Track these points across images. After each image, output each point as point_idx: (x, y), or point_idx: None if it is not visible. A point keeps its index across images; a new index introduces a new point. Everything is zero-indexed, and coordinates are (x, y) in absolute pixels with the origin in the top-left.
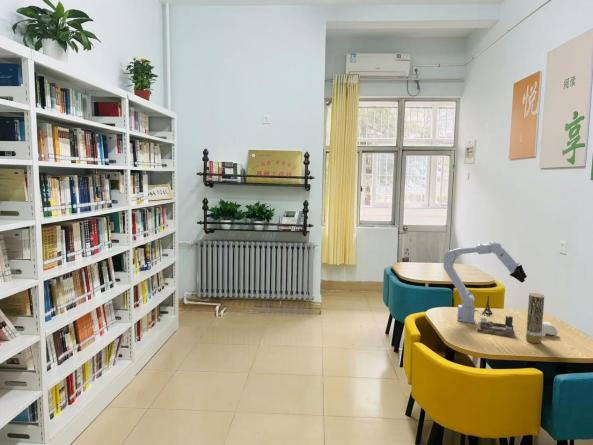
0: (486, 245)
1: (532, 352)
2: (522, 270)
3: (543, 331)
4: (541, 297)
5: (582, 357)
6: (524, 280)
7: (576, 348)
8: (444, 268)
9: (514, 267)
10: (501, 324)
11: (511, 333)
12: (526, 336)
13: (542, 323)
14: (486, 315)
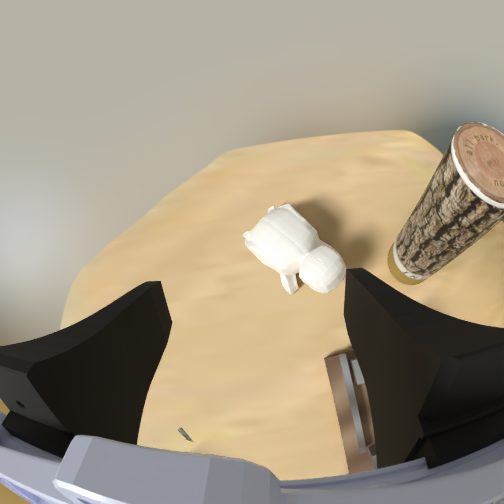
0: None
1: (497, 240)
2: (102, 337)
3: (322, 242)
4: (501, 138)
5: (420, 137)
6: (367, 271)
7: (362, 153)
8: None
9: (491, 481)
10: (355, 398)
11: None
12: (425, 279)
13: (308, 239)
14: None
